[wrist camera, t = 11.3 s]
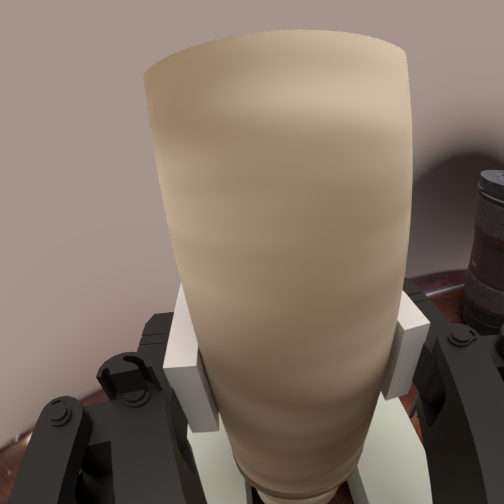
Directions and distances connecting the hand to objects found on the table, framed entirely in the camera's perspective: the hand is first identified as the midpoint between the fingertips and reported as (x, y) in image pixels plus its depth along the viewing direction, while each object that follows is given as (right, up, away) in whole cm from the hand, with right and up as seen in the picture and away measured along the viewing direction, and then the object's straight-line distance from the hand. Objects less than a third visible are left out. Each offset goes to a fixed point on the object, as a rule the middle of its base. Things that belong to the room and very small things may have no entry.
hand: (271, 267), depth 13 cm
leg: (+1, -10, -1) cm, 10 cm away
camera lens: (+24, -7, +12) cm, 28 cm away
